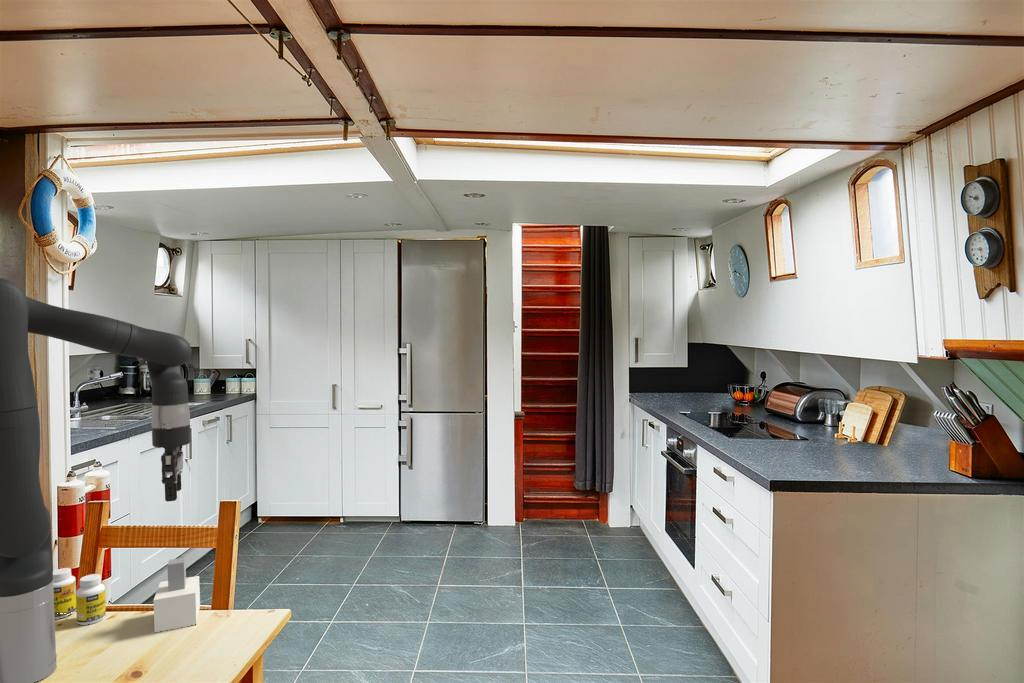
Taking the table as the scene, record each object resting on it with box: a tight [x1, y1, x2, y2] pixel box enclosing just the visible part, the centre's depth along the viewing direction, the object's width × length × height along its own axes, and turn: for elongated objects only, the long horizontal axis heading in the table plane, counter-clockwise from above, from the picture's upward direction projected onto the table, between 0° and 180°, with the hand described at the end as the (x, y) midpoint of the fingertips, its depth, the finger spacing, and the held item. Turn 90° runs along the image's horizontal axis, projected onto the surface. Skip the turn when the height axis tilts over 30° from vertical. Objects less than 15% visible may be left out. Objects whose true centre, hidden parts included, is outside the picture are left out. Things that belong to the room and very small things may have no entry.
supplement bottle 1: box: [53, 567, 77, 620], centre depth 138 cm, size 6×6×10 cm
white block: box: [153, 557, 201, 633], centre depth 135 cm, size 8×10×13 cm
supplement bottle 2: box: [75, 573, 107, 626], centre depth 135 cm, size 5×5×10 cm
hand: (173, 495), depth 134 cm, fingers open, 8 cm apart
